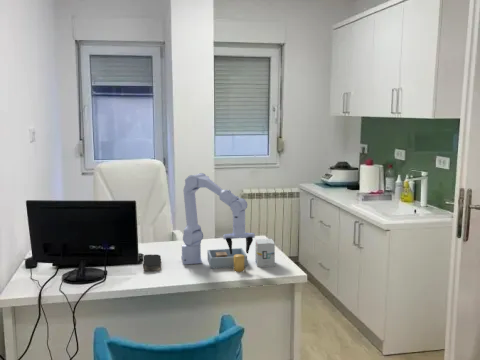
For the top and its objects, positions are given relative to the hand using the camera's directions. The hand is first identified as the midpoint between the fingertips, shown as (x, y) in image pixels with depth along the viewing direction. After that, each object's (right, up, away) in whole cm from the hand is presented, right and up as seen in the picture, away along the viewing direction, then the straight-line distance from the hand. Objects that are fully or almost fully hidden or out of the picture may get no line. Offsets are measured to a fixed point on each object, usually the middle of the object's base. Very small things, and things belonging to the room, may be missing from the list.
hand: (239, 253), depth 228 cm
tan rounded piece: (0, -8, +1) cm, 8 cm away
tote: (-6, -7, +12) cm, 15 cm away
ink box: (+13, -7, +10) cm, 18 cm away
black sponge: (-42, -8, +8) cm, 43 cm away
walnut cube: (-9, -6, +9) cm, 14 cm away
